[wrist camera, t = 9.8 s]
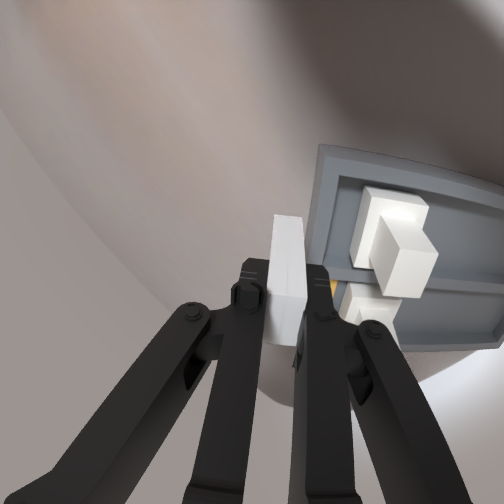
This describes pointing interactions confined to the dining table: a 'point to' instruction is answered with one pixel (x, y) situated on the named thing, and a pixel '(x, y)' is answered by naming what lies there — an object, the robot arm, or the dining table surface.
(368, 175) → the grey divided tray
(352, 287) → the tab
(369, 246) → the tab
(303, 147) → the dining table surface
